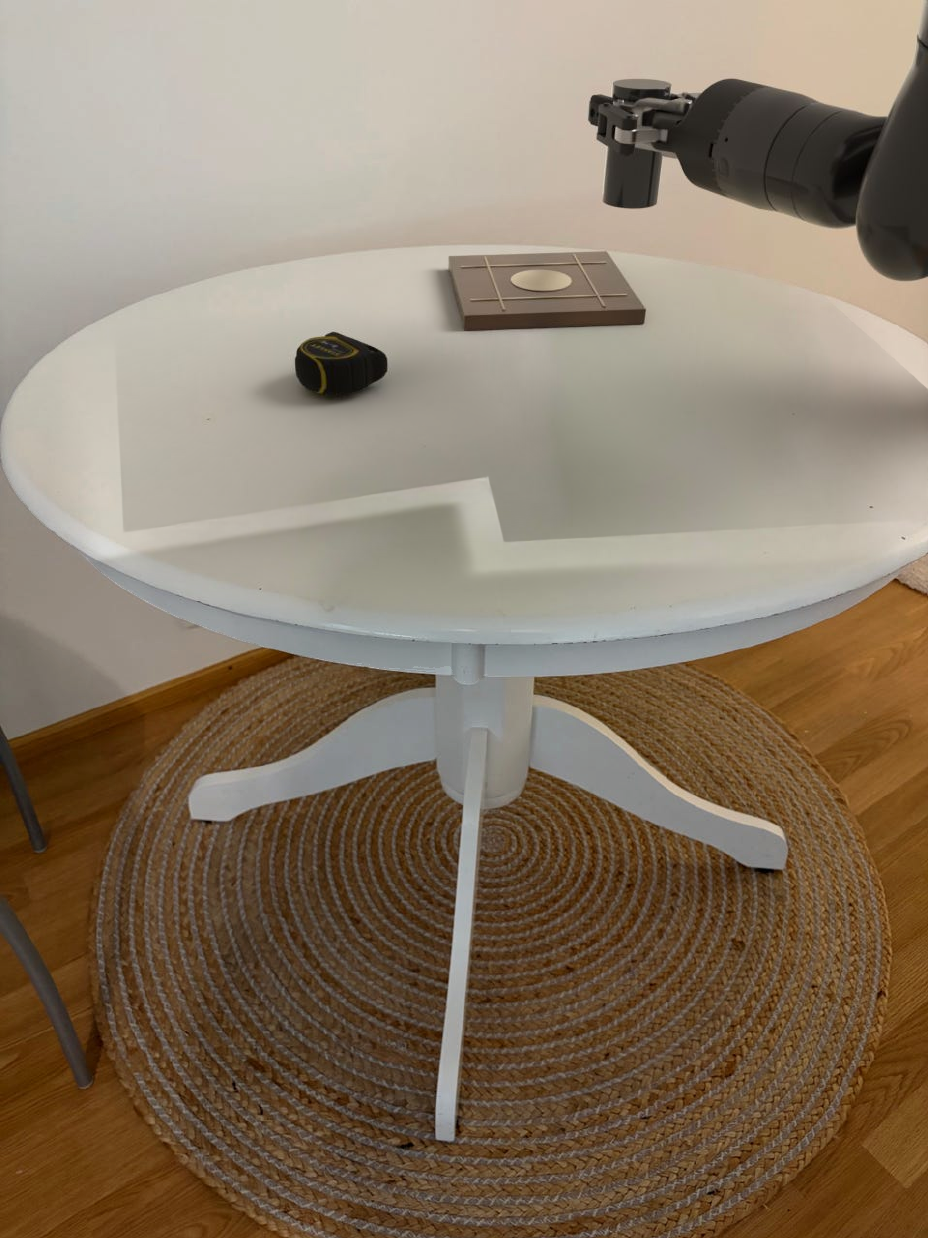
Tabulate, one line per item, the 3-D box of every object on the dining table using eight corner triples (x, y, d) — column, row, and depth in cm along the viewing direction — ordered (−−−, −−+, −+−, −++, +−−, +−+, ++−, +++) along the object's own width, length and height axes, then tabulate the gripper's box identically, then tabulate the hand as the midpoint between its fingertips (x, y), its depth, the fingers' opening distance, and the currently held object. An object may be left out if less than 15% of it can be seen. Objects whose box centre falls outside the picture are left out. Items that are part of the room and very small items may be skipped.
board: (605, 264, 109) (606, 249, 108) (644, 323, 95) (646, 308, 94) (448, 269, 107) (448, 254, 106) (464, 330, 93) (464, 314, 92)
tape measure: (392, 386, 83) (391, 345, 81) (332, 412, 79) (329, 369, 77) (341, 364, 87) (338, 324, 85) (281, 387, 83) (276, 346, 81)
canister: (649, 193, 85) (662, 77, 79) (664, 207, 81) (679, 88, 75) (596, 194, 84) (606, 78, 79) (609, 209, 81) (620, 89, 75)
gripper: (844, 79, 69) (693, 47, 81) (687, 96, 63) (550, 60, 75) (820, 189, 73) (680, 144, 85) (671, 214, 68) (544, 163, 80)
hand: (620, 105), depth 80 cm, fingers closed on canister, 4 cm apart
